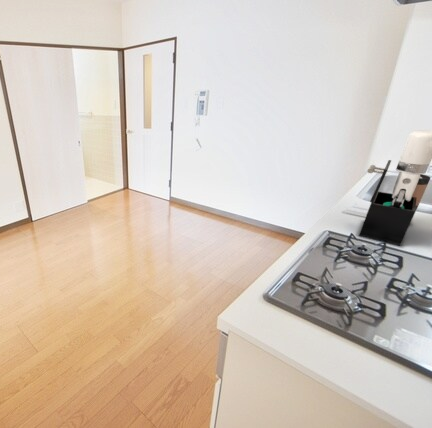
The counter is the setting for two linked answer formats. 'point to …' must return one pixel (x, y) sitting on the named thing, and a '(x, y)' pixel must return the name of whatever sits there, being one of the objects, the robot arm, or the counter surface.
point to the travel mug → (420, 188)
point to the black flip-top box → (388, 219)
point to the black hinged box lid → (372, 169)
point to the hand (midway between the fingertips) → (392, 213)
